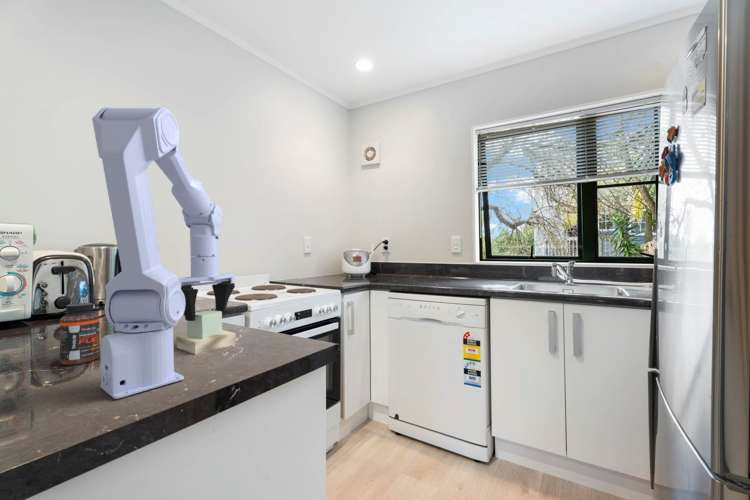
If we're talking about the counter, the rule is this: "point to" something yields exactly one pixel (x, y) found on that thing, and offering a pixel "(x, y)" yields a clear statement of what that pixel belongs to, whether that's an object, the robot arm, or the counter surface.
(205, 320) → the sage cube
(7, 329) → the counter surface
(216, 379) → the counter surface
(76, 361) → the supplement bottle
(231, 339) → the maple slab
